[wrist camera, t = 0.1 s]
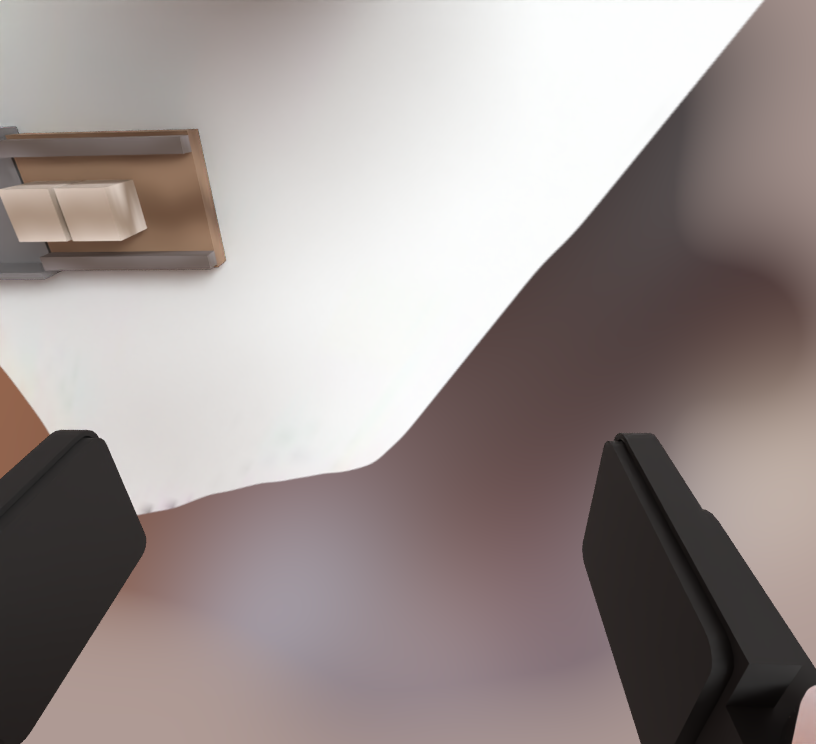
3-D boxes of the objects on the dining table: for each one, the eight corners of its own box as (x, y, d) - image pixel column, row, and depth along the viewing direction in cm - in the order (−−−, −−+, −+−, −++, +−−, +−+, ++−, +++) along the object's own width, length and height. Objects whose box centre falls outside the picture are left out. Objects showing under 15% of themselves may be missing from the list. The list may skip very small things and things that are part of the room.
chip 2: (86, 180, 40) (53, 188, 37) (132, 179, 40) (104, 187, 37) (102, 229, 42) (73, 241, 39) (147, 228, 42) (121, 240, 39)
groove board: (23, 133, 41) (-10, 136, 38) (197, 129, 40) (178, 132, 37) (71, 261, 46) (46, 273, 43) (226, 260, 45) (211, 272, 42)
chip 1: (34, 181, 41) (-3, 189, 37) (80, 180, 40) (47, 188, 37) (53, 229, 43) (19, 241, 39) (97, 229, 42) (67, 241, 39)
